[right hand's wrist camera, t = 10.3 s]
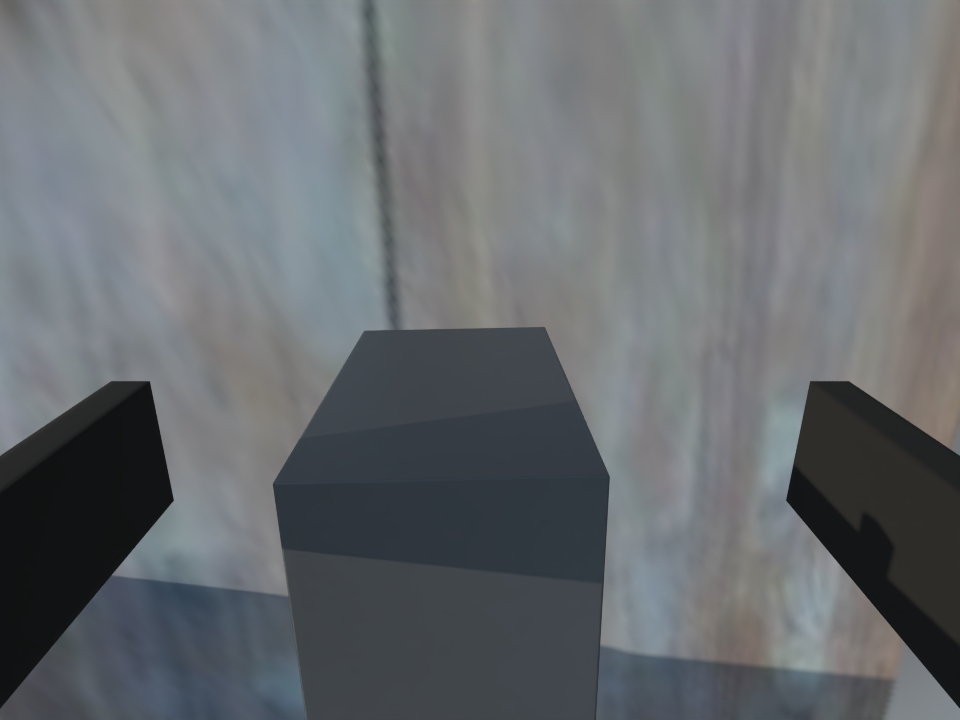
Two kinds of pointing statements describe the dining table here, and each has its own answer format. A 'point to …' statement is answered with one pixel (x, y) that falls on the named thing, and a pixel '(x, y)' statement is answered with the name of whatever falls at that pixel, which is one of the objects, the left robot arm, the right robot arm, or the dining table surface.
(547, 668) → the box
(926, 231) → the dining table surface
